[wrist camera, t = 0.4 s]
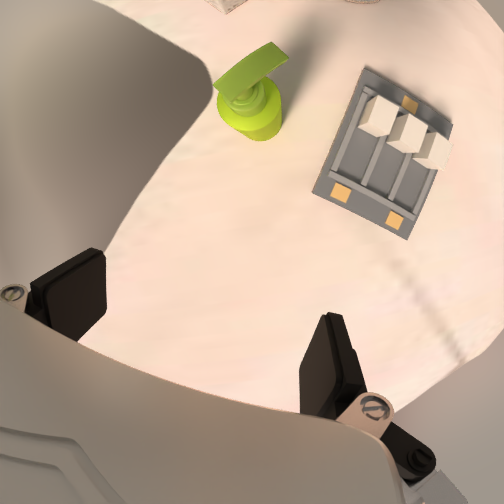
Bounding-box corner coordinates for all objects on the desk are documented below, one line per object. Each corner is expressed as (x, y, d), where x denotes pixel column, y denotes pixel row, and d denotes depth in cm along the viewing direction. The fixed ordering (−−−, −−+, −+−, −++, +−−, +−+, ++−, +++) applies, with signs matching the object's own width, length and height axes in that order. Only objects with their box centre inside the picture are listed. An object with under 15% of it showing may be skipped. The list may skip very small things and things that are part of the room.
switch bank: (361, 70, 30) (365, 66, 29) (449, 125, 31) (455, 124, 29) (311, 192, 37) (312, 193, 35) (403, 238, 37) (409, 241, 36)
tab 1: (366, 102, 31) (378, 95, 26) (385, 112, 31) (399, 107, 26) (356, 127, 32) (367, 122, 27) (376, 137, 32) (389, 134, 28)
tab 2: (394, 118, 31) (409, 113, 26) (411, 128, 31) (428, 125, 26) (385, 142, 32) (399, 140, 28) (402, 152, 32) (418, 152, 28)
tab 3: (420, 134, 31) (436, 132, 26) (435, 145, 31) (453, 144, 26) (411, 158, 32) (427, 158, 28) (426, 168, 32) (444, 170, 28)
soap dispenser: (296, 118, 34) (309, 75, 15) (257, 149, 36) (230, 137, 17) (268, 88, 33) (252, 22, 14) (230, 119, 35) (177, 82, 16)
